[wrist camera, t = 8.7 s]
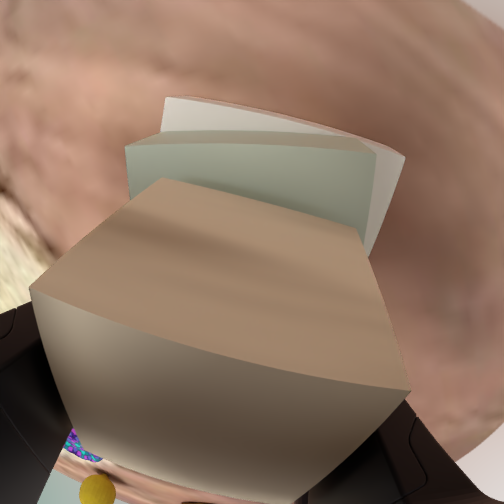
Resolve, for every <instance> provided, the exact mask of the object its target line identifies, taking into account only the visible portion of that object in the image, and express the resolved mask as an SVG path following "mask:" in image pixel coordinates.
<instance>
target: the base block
mask: <svg viewBox="0 0 504 504" xmlns="http://www.w3.org/2000/svg"><path fill="white" fill-rule="evenodd" d="M195 130H244V131H274V132H293V133H308V134H320V135H332V136H342V137H351V138H357V139H358V140H359V141H361V142H362V143H363V144H365V145H366V146H367V147H368V148H370V149H371V150H372V151H374V152H375V153H376V154H377V156H376V165H375V173H374V181H373V189H372V196H371V203H370V209H369V216H368V222H367V228H366V234H365V239H364V245H363V247H364V249H365V252H366V254H367V257H369V255H370V252H371V250H372V248H373V245H374V243H375V240H376V238H377V235H378V233H379V230H380V228H381V225H382V223H383V220H384V218H385V215H386V212H387V210H388V207H389V204H390V202H391V199H392V196H393V193H394V191H395V188H396V185H397V182H398V179H399V176H400V174H401V171H402V168H403V165H404V162H405V159H406V157H405V156H403V155H402V154H400V153H398V152H397V151H395V150H394V149H392V148H390V147H389V146H386V145H384V144H381V143H378V142H375V141H372V140H369V139H366V138H363V137H360V136H357V135H354V134H351V133H348V132H345V131H341V130H338V129H335V128H331V127H328V126H325V125H321V124H318V123H314V122H310V121H307V120H303V119H299V118H295V117H291V116H288V115H283V114H279V113H275V112H271V111H267V110H262V109H258V108H253V107H248V106H243V105H239V104H233V103H228V102H223V101H217V100H212V99H206V98H199V97H193V96H171V97H166V99H165V105H164V111H163V117H162V124H161V130H160V132H165V131H195Z"/></svg>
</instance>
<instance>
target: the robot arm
mask: <svg viewBox="0 0 504 504" xmlns="http://www.w3.org/2000/svg"><path fill="white" fill-rule="evenodd" d="M72 429H73V425H72V423H71V421H70V418H69V416H68V414H67V411H66V409H65V406H64V404H63V401H62V399H61V396H60V394H59V391H58V388H57V386H56V383H55V380H54V377H53V374H52V371H51V368H50V365H49V362H48V359H47V356H46V353H45V350H44V346H43V343H42V339H41V336H40V332H39V329H38V325H37V321H36V317H35V313H34V309H33V305H32V301H31V302H28V303H26V304H23V305H21V306H19V307H17V309H16V308H14V309H11V310H9V311H7V312H4V313H2V314H0V504H37V502H38V500H39V498H40V495H41V493H42V491H43V489H44V486H45V484H46V482H47V480H48V478H49V476H50V473H51V471H52V469H53V467H54V465H55V463H56V461H57V459H58V457H59V454H60V452H61V450H62V448H63V446H64V444H65V442H66V440H67V438H68V436H69V434H70V432H71V431H72ZM294 504H504V502H502V501H498V500H495V499H492V498H490V497H488V496H487V495H485V494H484V493H483V492H481V491H480V490H479V489H478V488H477V487H476V486H475V485H474V484H473V482H472V481H471V480H470V479H469V478H468V477H467V476H466V474H465V473H464V472H463V471H462V470H461V469H460V468H459V466H458V465H457V464H456V463H455V462H454V461H453V460H452V459H451V457H450V456H449V455H448V454H447V453H446V452H445V450H444V449H443V448H442V447H441V446H440V444H439V443H438V442H437V441H436V440H435V438H434V437H433V436H432V434H431V433H430V432H429V431H428V429H427V428H426V427H425V425H424V424H423V423H422V421H421V420H420V419H419V417H416V413H415V412H414V411H413V409H412V408H411V407H410V405H409V404H408V403H407V401H406V400H405V399H404V400H403V401H402V402H401V403H400V405H399V406H398V407H397V408H396V409H395V410H394V411H393V412H392V413H391V414H390V416H389V417H388V418H387V419H386V420H385V421H384V422H383V423H382V424H381V425H380V426H379V427H378V428H377V429H376V430H375V431H374V432H373V433H372V434H371V435H370V436H369V437H368V438H367V439H366V440H365V441H364V442H363V443H362V444H361V445H360V446H359V447H358V448H357V449H356V450H355V451H354V452H353V453H352V454H351V455H349V456H348V457H347V458H346V459H345V460H344V461H343V462H342V463H341V464H339V465H338V466H337V467H336V468H335V469H334V470H333V471H331V472H330V473H329V474H328V475H327V476H326V477H324V478H323V479H322V480H321V481H320V482H318V483H317V484H316V485H315V486H313V487H312V488H311V489H310V490H308V491H307V492H306V493H305V494H303V495H302V496H301V497H299V498H298V499H297V500H295V501H294Z"/></svg>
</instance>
